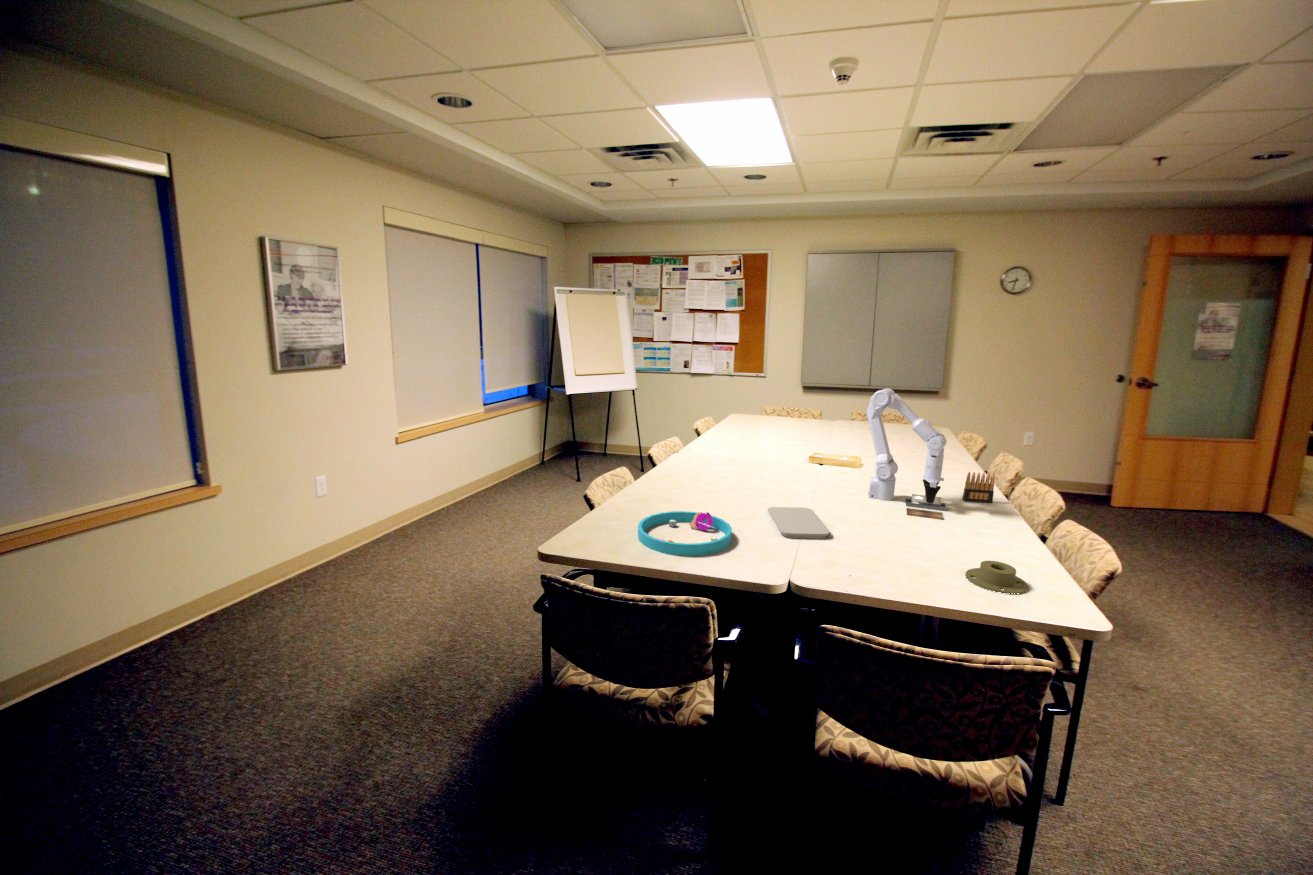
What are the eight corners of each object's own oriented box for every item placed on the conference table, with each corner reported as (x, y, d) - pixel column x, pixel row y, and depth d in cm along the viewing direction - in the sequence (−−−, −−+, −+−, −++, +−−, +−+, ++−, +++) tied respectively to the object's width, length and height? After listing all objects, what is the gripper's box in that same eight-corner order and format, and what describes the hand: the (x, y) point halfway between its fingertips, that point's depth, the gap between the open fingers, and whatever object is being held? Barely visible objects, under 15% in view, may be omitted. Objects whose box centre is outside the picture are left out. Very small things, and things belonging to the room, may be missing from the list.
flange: (962, 552, 167) (974, 574, 153) (1020, 560, 162) (1038, 582, 148) (960, 567, 168) (971, 590, 154) (1018, 575, 163) (1035, 599, 149)
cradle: (905, 508, 218) (906, 503, 218) (905, 503, 225) (905, 497, 224) (946, 513, 213) (947, 508, 213) (944, 508, 220) (945, 502, 219)
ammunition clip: (990, 501, 229) (995, 472, 227) (992, 503, 228) (997, 474, 225) (962, 499, 231) (966, 470, 229) (963, 501, 229) (967, 472, 227)
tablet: (810, 513, 211) (810, 507, 211) (831, 540, 186) (831, 534, 185) (766, 512, 211) (766, 506, 211) (781, 539, 186) (781, 533, 185)
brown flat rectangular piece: (906, 517, 208) (907, 513, 208) (906, 511, 215) (906, 507, 214) (943, 522, 204) (944, 518, 204) (941, 516, 210) (942, 512, 210)
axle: (911, 505, 219) (912, 495, 218) (910, 502, 222) (912, 492, 222) (940, 509, 215) (941, 498, 214) (939, 506, 219) (940, 496, 218)
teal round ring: (747, 535, 189) (748, 518, 188) (701, 565, 165) (702, 546, 164) (670, 515, 205) (671, 500, 204) (618, 541, 181) (619, 523, 180)
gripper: (947, 472, 207) (942, 507, 210) (943, 462, 220) (939, 496, 223) (926, 469, 210) (921, 505, 212) (923, 460, 223) (919, 494, 226)
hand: (929, 500), depth 218 cm, fingers open, 5 cm apart
